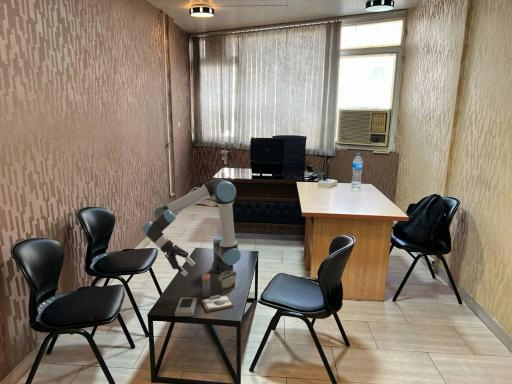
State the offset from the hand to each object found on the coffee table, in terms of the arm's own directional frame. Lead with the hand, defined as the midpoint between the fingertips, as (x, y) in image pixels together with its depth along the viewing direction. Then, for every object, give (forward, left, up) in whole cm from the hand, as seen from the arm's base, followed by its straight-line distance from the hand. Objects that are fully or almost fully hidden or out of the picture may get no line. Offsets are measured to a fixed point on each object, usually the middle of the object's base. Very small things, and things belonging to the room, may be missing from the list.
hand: (190, 269), depth 210 cm
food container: (0, +21, -16) cm, 27 cm away
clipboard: (+16, +11, -16) cm, 25 cm away
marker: (+4, +8, -16) cm, 18 cm away
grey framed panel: (+14, -6, -16) cm, 23 cm away
